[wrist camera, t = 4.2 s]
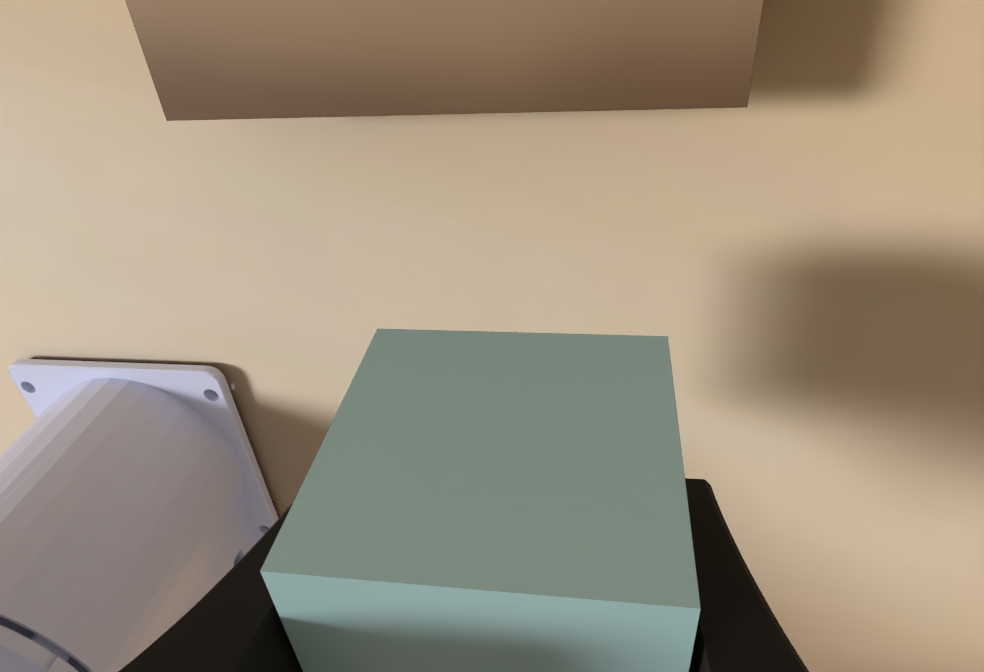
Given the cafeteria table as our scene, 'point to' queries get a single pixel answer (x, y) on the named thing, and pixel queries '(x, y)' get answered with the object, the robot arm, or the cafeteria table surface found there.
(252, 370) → the cafeteria table surface
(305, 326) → the cafeteria table surface
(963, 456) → the cafeteria table surface
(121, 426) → the robot arm
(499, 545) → the teal cube
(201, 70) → the walnut base
